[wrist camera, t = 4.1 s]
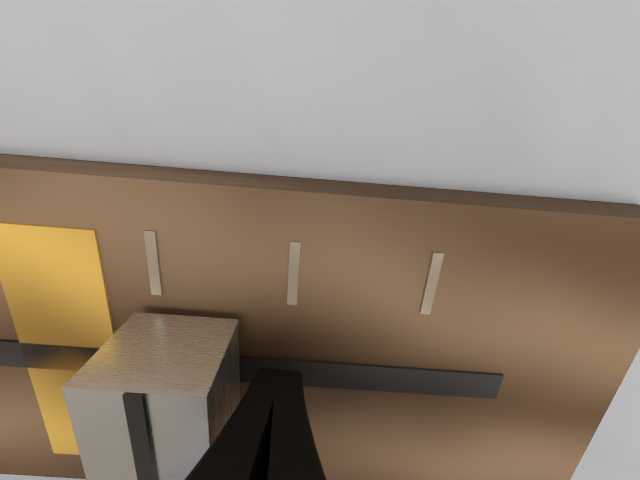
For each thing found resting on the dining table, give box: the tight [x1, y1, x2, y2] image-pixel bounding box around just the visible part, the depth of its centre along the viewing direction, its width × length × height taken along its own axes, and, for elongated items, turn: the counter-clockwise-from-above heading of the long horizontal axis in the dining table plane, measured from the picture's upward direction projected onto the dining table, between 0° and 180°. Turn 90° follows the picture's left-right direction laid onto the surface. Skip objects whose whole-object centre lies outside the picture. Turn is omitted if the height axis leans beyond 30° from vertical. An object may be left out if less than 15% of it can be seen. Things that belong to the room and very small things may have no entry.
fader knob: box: [62, 312, 240, 480], centre depth 9 cm, size 4×3×3 cm
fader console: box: [0, 154, 640, 480], centre depth 12 cm, size 12×26×2 cm, turn 86°
